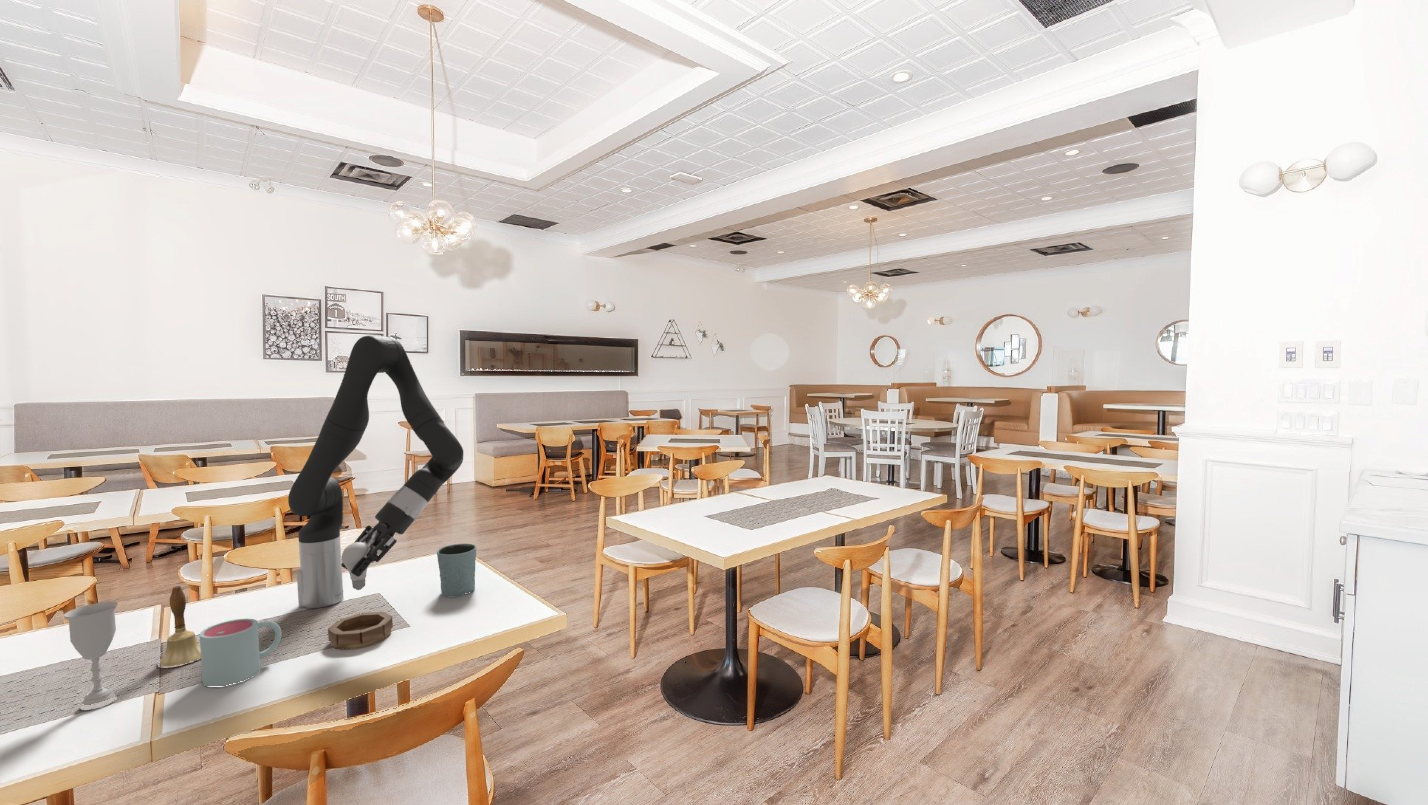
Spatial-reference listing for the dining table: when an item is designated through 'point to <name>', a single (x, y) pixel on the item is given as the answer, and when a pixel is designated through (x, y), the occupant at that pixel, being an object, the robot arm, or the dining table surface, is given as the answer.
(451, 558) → the teal cylindrical pot
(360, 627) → the holder
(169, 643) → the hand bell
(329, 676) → the dining table surface
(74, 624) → the chalice
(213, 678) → the mug
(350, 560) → the lightbulb
